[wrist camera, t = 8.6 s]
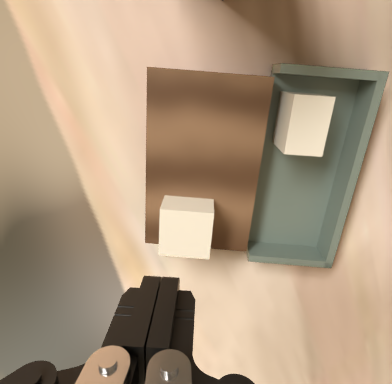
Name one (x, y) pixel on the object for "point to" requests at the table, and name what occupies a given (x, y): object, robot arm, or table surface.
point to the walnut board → (206, 146)
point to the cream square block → (186, 227)
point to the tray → (313, 168)
